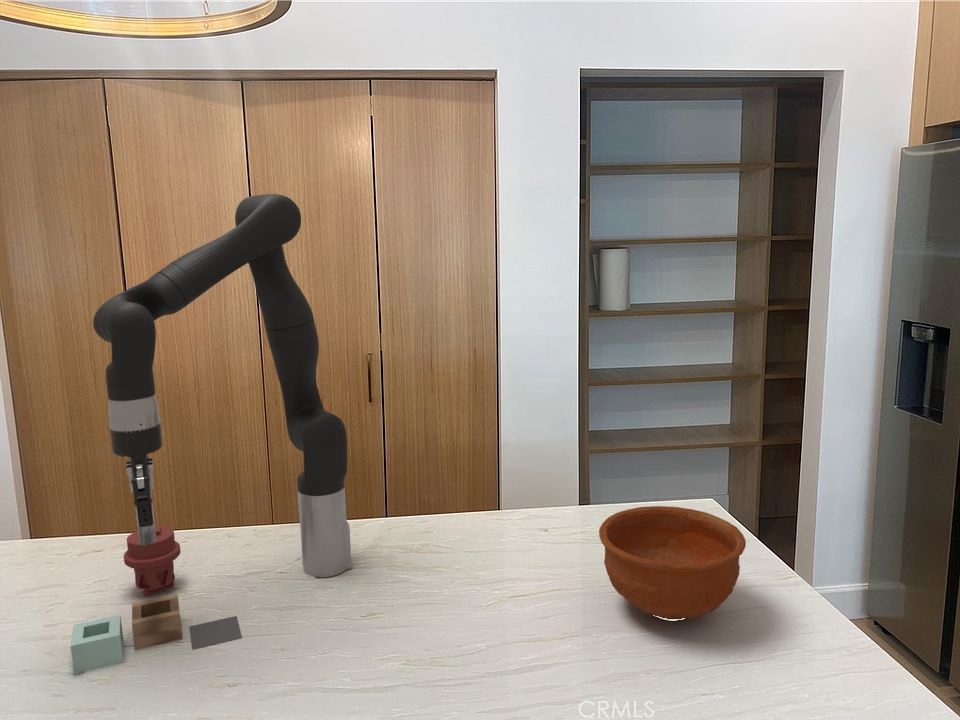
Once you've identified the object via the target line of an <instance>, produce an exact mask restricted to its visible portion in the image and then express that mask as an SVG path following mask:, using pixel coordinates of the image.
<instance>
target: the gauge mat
mask: <svg viewBox="0 0 960 720" xmlns="http://www.w3.org/2000/svg"><path fill="white" fill-rule="evenodd" d="M188 627H189V628H188V629H189V635H190V644H191V650H192V651H194V650H198V649H204V648H207V647H211V646H212V647H213V646H216V645H220V644H225V643H229V642H233V641H236V640H241V639H243V635H242V631H241V627H240V623H239V620H238V617H237V615H234V616H229V617H224V618H220V619H216V620H213V621H208V622H207V621H206V622H204V623H203V622H202V623H199V624H194V625H189V626H188Z"/></svg>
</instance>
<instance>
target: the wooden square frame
mask: <svg viewBox="0 0 960 720" xmlns="http://www.w3.org/2000/svg"><path fill="white" fill-rule="evenodd" d="M180 612H181V611H180V603H179V594H177V593H176V594H171V595H166V596H162V597H157V598H153V599H147V600H142V601H137V602H133V603H132V604H131V627H132V629H131V630H132V637H133V643H134V644H133V645H134V650H135V651H137V650H141V649H145V648H150V647H154V646H158V645H164V644H167V643H168V644H169V643H171V642H176V641H180V640H183V632H182V622H181V613H180Z"/></svg>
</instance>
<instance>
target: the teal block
mask: <svg viewBox="0 0 960 720" xmlns="http://www.w3.org/2000/svg"><path fill="white" fill-rule="evenodd" d="M71 633H72V634H71V640H70V645H69V647H70V652H71V654H70V655H71V659H72V668H73V675H79V674H83V673H85V672H86V671H89V670H93V669H98V668H101V667H106V666H111V665H114V664H119V663H122V662H124V643H125V642H124V634H123V624H122V616H121V614H117V615H112V616H107V617H103V618H102V617H101V618H97V619H93V620H89V621H84V622H79V623H74V624H73V627H72V632H71Z"/></svg>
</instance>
